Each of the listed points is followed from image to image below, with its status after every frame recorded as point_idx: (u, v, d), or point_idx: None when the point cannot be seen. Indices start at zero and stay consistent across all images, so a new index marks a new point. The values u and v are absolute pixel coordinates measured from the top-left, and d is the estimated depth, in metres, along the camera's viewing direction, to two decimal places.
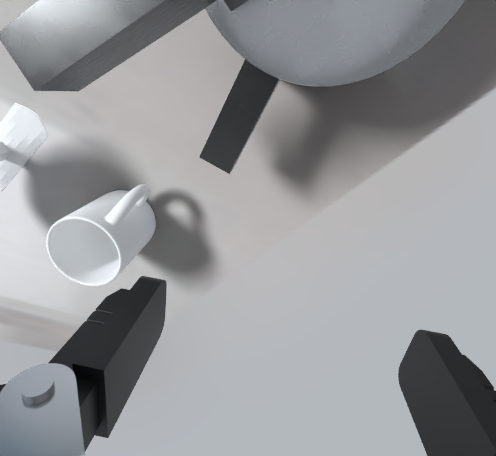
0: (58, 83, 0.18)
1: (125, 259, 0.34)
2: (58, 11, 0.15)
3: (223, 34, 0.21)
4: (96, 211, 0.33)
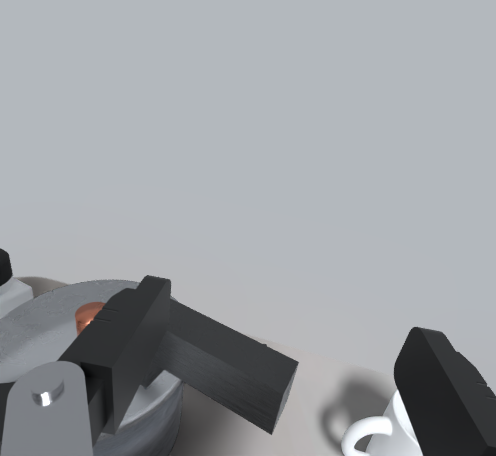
0: None
1: None
2: (238, 358, 0.21)
3: None
4: (398, 446, 0.30)
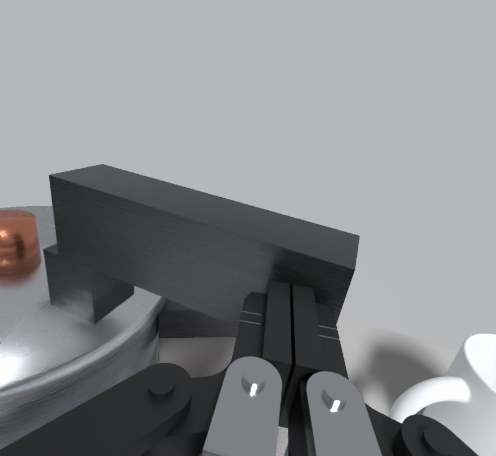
0: None
1: None
2: (255, 228, 0.12)
3: None
4: (484, 418, 0.19)
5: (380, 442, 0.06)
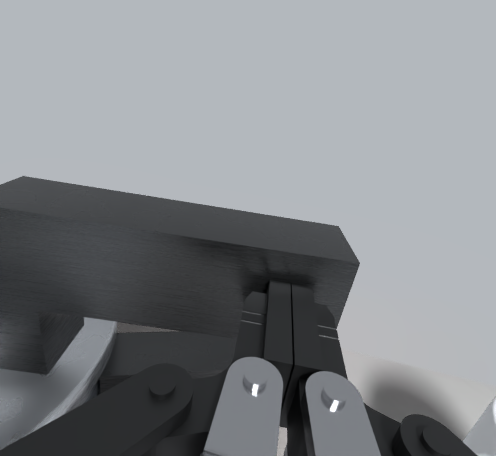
0: None
1: None
2: (250, 235, 0.11)
3: None
4: None
5: (379, 442, 0.06)
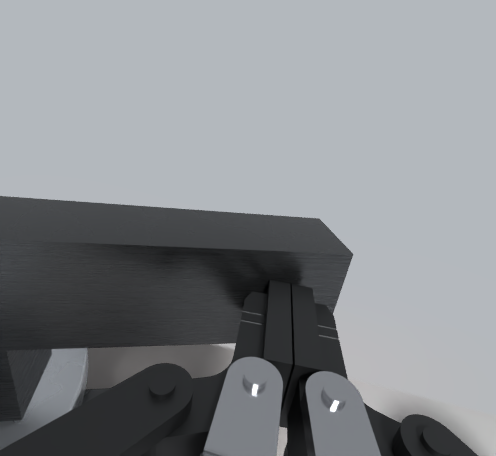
0: None
1: None
2: (245, 237, 0.11)
3: None
4: None
5: (379, 442, 0.06)
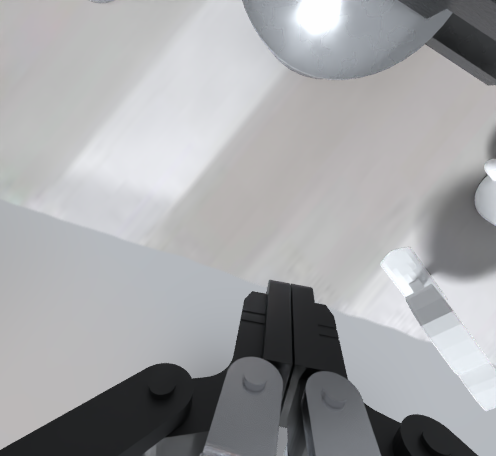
0: None
1: None
2: None
3: None
4: None
5: (379, 442, 0.06)
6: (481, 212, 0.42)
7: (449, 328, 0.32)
